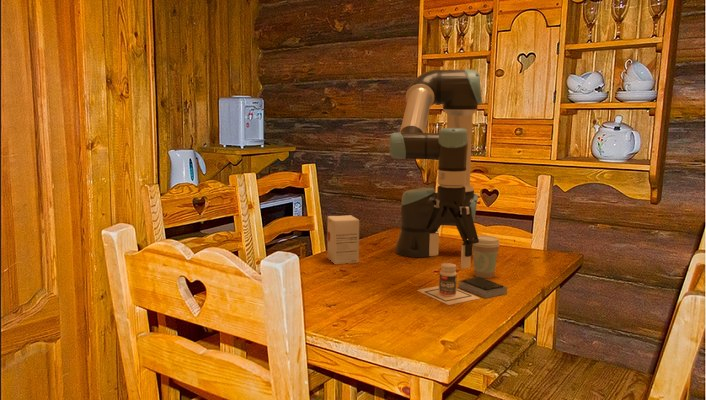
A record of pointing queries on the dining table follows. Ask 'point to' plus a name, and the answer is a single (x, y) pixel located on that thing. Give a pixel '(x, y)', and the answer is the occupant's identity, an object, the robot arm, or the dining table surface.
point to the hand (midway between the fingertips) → (449, 261)
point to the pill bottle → (448, 280)
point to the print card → (448, 300)
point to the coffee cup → (485, 256)
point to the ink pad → (483, 287)
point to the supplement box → (343, 239)
